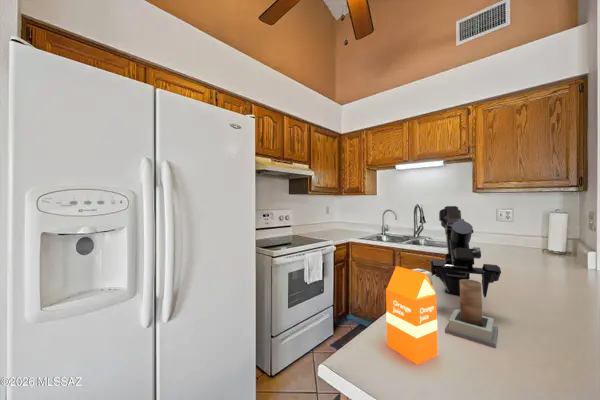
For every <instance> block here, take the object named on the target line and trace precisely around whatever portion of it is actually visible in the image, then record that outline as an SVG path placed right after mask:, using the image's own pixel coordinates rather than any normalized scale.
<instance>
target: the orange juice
mask: <svg viewBox="0 0 600 400" xmlns="http://www.w3.org/2000/svg"><path fill="white" fill-rule="evenodd" d="M385 294H386V296H385V299H386V307H385V309H386V320H385V321H386V345H387V347H389V348H391V349H392V350H393V351H396V352H397V353H398V354H400V355H402V356H403V357H404V358H406V359H408V360H409V361H411V362H412V363H414V364H415V365H416V366H418V365H420V364H422V363H424V362H426V361H428V360H430V359H432V358H434V357H437V356H438V355H439V354H438V351H439V350H438V348H439V347H438V316H437V315H438V313H437V312H438V311H437V309H438V308H437V307H438V306H437V293H436V291H435V288H434V287H433V284H432V285H431V283H430V281H429V279H428V277H427V275H426V274H425V273H421V272H417V271H414V270H413V269H410V268H406V267H402V266H398V265H396V266H395V268H394V270H393V273H392V275H391V277H390V280H389V282H388V284H387V287H386V288H385Z"/></svg>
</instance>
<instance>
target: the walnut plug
mask: <svg viewBox="0 0 600 400" xmlns="http://www.w3.org/2000/svg"><path fill="white" fill-rule="evenodd" d="M482 296H483V293H482V282H480V281H478V280H474V279H461V280H460V295H459V302H460V303H459V304H460V305H459V307H460V309H459V310H461V322H465V323H468V324H472V325H476V326H479V327H483V325H482V316H483V306H482V305H483V301H482V299H483V298H482Z"/></svg>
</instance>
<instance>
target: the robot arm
mask: <svg viewBox="0 0 600 400" xmlns="http://www.w3.org/2000/svg"><path fill="white" fill-rule="evenodd" d="M438 221H440V224H441V225H440V226H441V227H442V228H444V235H445V237H446V238H445V239H446V247H447V248H446V249H447V253H446V254H445V258H444V260H441V259H431V261H430V272H431V273H432V276H433V275H434V276H435V278H439V279H440V281H441V282H442V284H443V286H444V287H445V290H444V293H447V294H449V295H450V294H451V295H456V296H460V280H461V279H469V280H471V279H470V277H471V276H470V274H472V275H473V274H474V275H480V276H481V278H482V280H481V290H482V296H483V298H486V299H487V293H488V290H489V285H490V284H493V283H494V282H498V281H499V279H500V276H501V274H502V271H501V267H500V266H499V265H497V264H488V263H483V265H482V267H475V266H474V265H475V259H481V258H482V251H481V247H475V246H473V247H472V248H470V242H471V239H472V235H473V234H474V227H473V225H472V224H470V222H467V221H466V220H465V219H464V218H462V212H461V210H460V209H459V207H458V206H456V205H451V206H450V205H446V206H444V208H443V209H440V210H439V213H438Z"/></svg>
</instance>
